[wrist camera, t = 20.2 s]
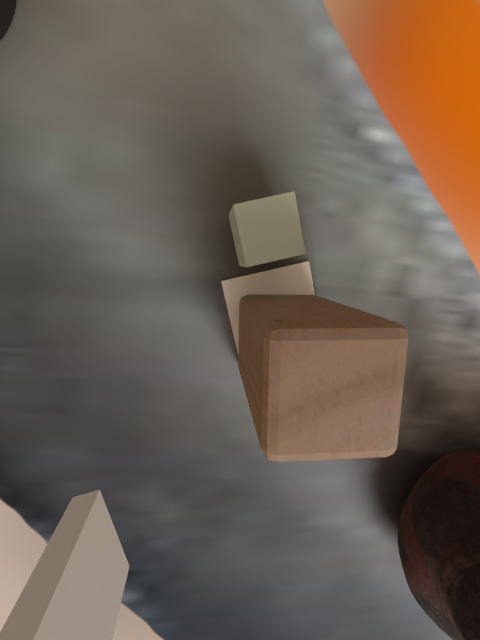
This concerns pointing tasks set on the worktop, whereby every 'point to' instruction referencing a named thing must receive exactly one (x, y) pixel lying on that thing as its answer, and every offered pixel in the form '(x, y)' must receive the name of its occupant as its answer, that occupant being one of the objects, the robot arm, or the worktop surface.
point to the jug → (445, 543)
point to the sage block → (266, 229)
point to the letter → (266, 288)
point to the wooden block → (321, 377)
